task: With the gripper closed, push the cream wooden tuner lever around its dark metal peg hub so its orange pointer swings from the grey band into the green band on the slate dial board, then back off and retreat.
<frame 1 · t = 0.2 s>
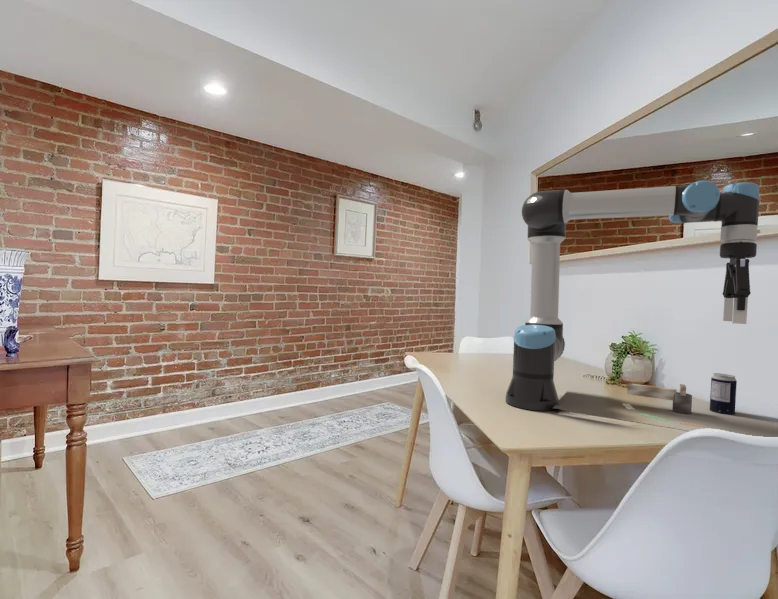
hand: (733, 322, 113), 27 cm above the table, fingers open, 13 cm apart
peg lever: (653, 394, 123), point 5 cm above the table, hinge at 0.0°
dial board: (656, 417, 117), on the table
beverage can: (721, 417, 121), on the table
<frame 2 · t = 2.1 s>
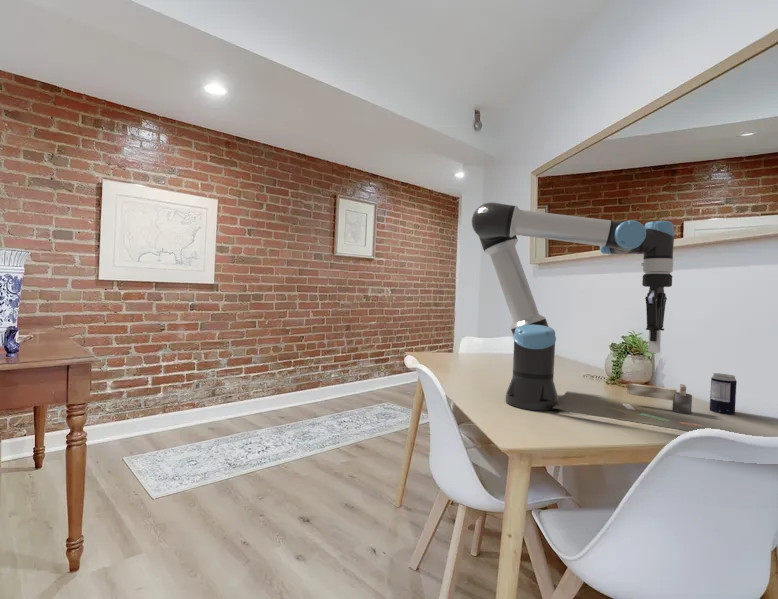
hand: (654, 351, 127), 17 cm above the table, fingers closed
nothing on the table moved.
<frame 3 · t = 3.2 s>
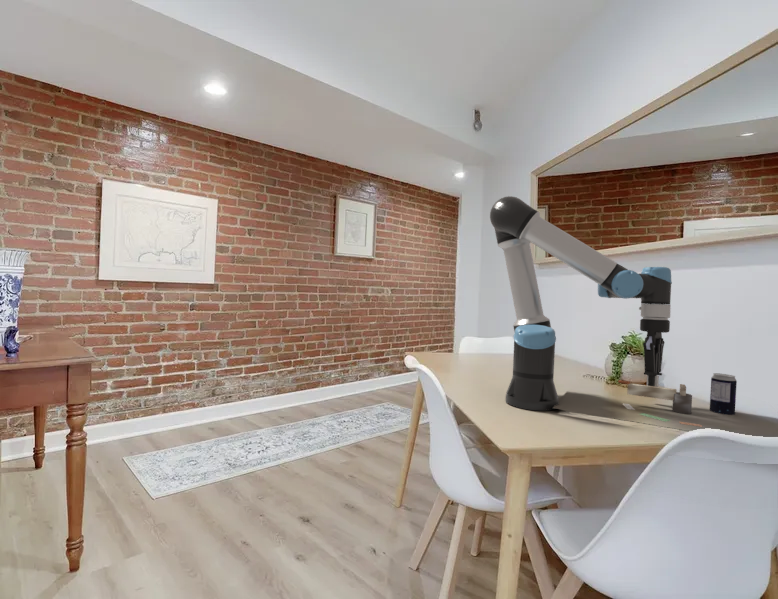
hand: (652, 396, 127), 4 cm above the table, fingers closed
nothing on the table moved.
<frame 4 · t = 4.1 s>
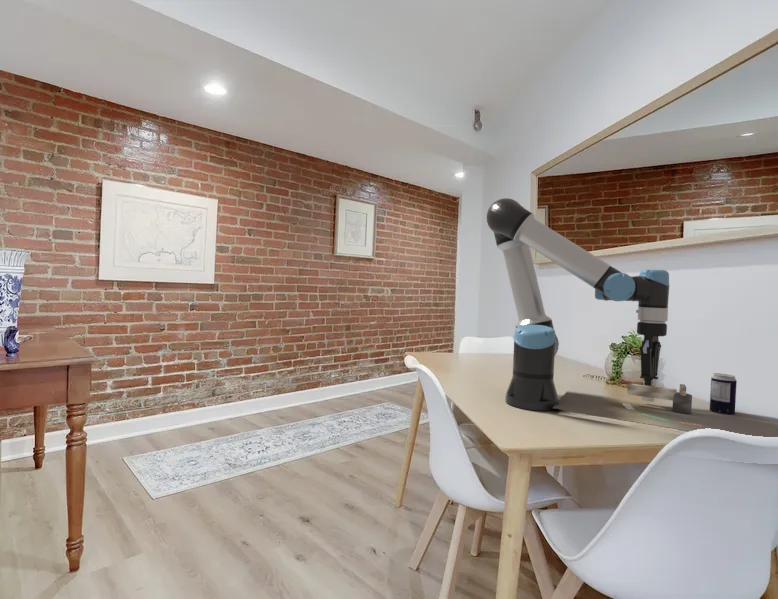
hand: (647, 400, 126), 3 cm above the table, fingers closed
peg lever: (653, 394, 123), point 5 cm above the table, hinge at 0.8°, touching gripper
everything else where it was.
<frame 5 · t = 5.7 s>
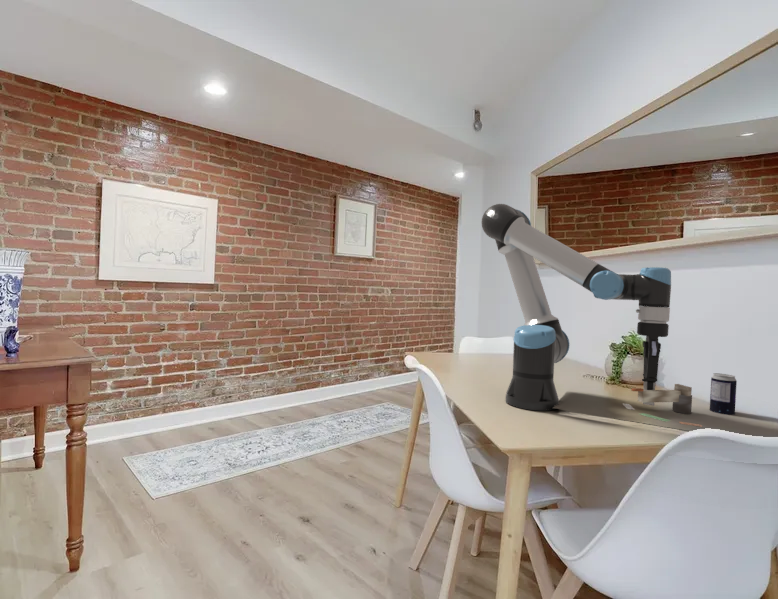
hand: (648, 404, 121), 3 cm above the table, fingers closed
peg lever: (661, 398, 118), point 5 cm above the table, hinge at 41.4°, touching gripper
everything else where it was.
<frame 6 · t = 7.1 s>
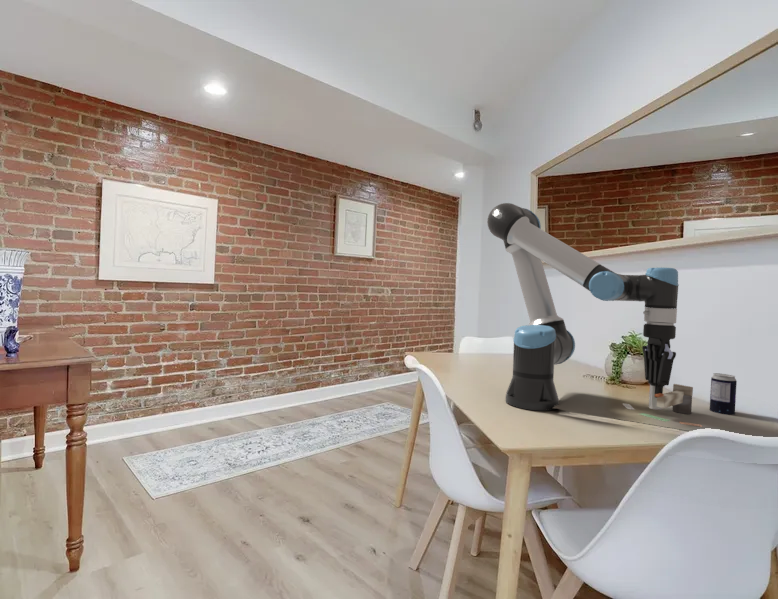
hand: (655, 408, 117), 3 cm above the table, fingers closed
peg lever: (671, 401, 115), point 5 cm above the table, hinge at 65.8°
everything else where it was.
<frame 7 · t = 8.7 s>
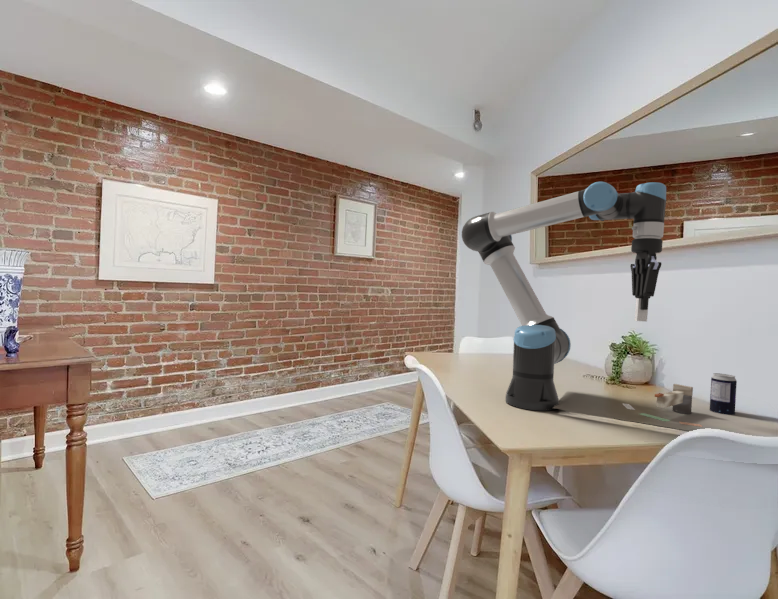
hand: (640, 321, 121), 26 cm above the table, fingers closed
nothing on the table moved.
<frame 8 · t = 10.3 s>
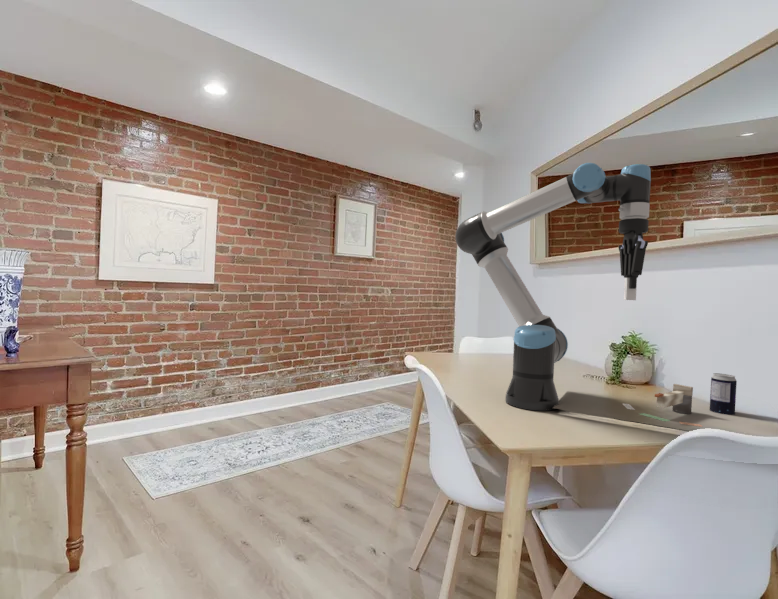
hand: (629, 299, 124), 32 cm above the table, fingers closed
nothing on the table moved.
at the end: peg lever at +66° (first picture: +0°) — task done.
